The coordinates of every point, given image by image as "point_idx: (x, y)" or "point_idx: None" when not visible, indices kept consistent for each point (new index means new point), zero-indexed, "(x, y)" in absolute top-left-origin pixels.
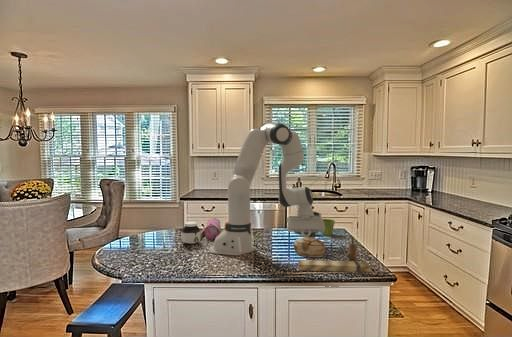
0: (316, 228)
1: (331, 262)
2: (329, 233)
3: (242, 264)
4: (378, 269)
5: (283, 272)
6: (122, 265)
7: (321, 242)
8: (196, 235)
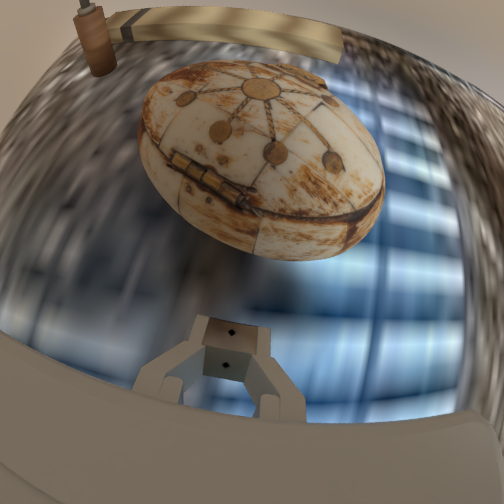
0: (35, 357)
1: (217, 16)
2: None
3: (490, 136)
4: None
5: (378, 50)
6: None
7: (175, 71)
8: None
